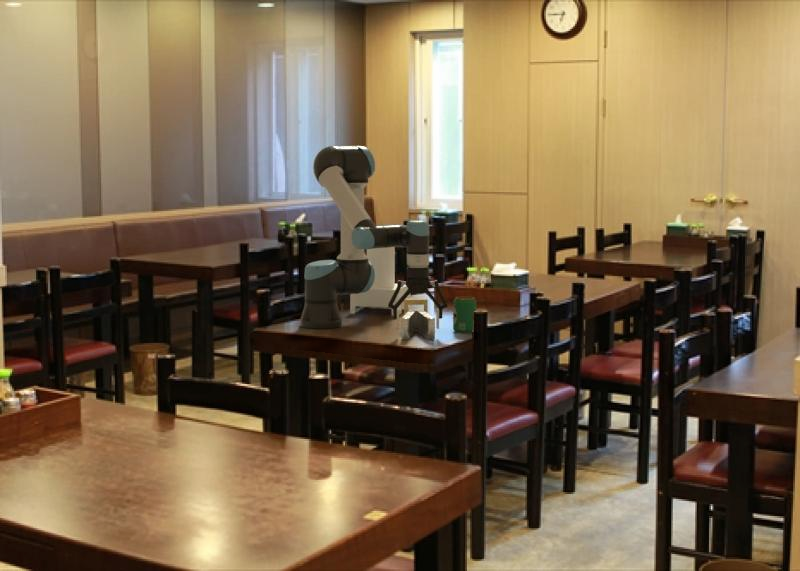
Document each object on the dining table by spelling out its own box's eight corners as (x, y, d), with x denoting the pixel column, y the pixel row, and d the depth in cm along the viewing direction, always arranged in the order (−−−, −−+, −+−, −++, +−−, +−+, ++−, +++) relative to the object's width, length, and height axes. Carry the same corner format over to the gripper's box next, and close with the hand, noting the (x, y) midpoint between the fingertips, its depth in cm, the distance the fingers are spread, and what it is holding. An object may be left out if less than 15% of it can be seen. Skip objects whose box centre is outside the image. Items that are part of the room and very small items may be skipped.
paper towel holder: (350, 313, 444) (349, 236, 440) (366, 306, 462) (365, 232, 458) (396, 316, 438) (396, 238, 434) (410, 309, 456) (410, 233, 452)
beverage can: (451, 329, 407) (452, 296, 405) (474, 329, 407) (474, 296, 406) (454, 333, 399) (454, 299, 397) (477, 333, 399) (477, 299, 398)
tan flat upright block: (404, 328, 408) (404, 298, 407) (427, 328, 409) (427, 298, 407) (404, 329, 406) (404, 299, 405) (427, 329, 406) (427, 299, 405)
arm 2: (417, 330, 403) (417, 310, 403) (423, 330, 404) (423, 310, 403) (428, 339, 386) (428, 318, 385) (435, 339, 386) (435, 318, 385)
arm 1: (408, 330, 404) (408, 310, 403) (415, 330, 403) (415, 310, 403) (401, 339, 386) (401, 318, 385) (408, 339, 386) (408, 319, 385)
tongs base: (408, 328, 409) (408, 309, 408) (422, 328, 409) (422, 309, 408) (409, 330, 406) (409, 310, 405) (422, 330, 406) (422, 310, 405)
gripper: (381, 267, 384) (381, 330, 386) (455, 267, 384) (455, 329, 387) (380, 265, 391) (381, 326, 394) (453, 265, 392) (453, 326, 394)
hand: (417, 328), depth 390 cm, fingers open, 13 cm apart
